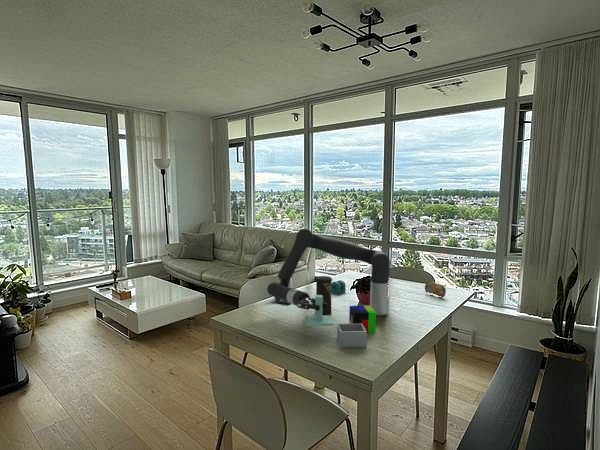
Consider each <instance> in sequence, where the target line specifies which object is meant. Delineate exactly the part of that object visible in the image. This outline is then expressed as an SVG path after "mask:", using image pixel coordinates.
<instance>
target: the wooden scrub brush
mask: <svg viewBox="0 0 600 450" xmlns="http://www.w3.org/2000/svg"><path fill="white" fill-rule="evenodd" d="M424 291H425V293H426V292H429V293H433V294H436V295H438V296H441V297H442V298H444V297H446V293H447V290H446V287H445V286H444V285H443V284H440V283H437V282H434V281H427V282H426V283H425V285H424Z"/></svg>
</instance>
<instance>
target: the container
mask: <svg viewBox="0 0 600 450" xmlns="http://www.w3.org/2000/svg"><path fill="white" fill-rule="evenodd" d="M314 281H316V283H315V284H316V289H315V291H316V292H315V295H322V296H323V300H324V302H325V303H327V304H328V305H327V308H324V307H323V311H322V315H330V316H331V314H332V293H331V283H332V282H333V278H332V277H331V276H327V275H320V276H319V275H318V276H317V277H315V279H314Z"/></svg>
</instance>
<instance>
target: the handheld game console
mask: <svg viewBox="0 0 600 450" xmlns="http://www.w3.org/2000/svg"><path fill="white" fill-rule="evenodd" d="M278 284H280V282H278ZM273 298H274V299H275V303H276V304H281V305H286V306H290V305H292V304H291V303H289V302H286V301H284V300H282V299H278V298H276V297H274V296H273Z"/></svg>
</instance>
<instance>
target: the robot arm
mask: <svg viewBox="0 0 600 450" xmlns="http://www.w3.org/2000/svg"><path fill="white" fill-rule="evenodd" d="M292 245H293V246H292V248H291V250H290V252H289V254H288V256H287V257H286V259H285V261H284V262H283V264H282V266H281V268H280V270H279V272H278V274H277V278H278V279H279V280H280V282H274V281H273V282H271V283H268V286H267V288H266V291H267V293H268V295H270V296H271V297H273V298H274V297H276V298H278V299H282V300H284V301H286V302H289V303H291V304H290V305H293V306H296V307H297V308H299V309H303V310H314V311H315V310H317V311H319V310H320V306H319V305H316V304H315V297H313V296H310V295H309V294H308V292H305V291H302V290H299V289H295V288H293V287H292V288H291V287H290V281H291V279H292V277H293V275H294V273H295V271H296V269H297V267H298V264H299V262H300V260H301V258H302V257H303V254H304V253H305V251H306V250H307V248H311V249H315V250H320V251H322V252H324V253H326V254H329V255H331V256H335V257H337V258H341V259H345V260H351V261H352V260H353V261H360V262H363V263H367V264H369V265H371V275H370V292H369V294H370V295H369V305H370V306H371V307H372V309H373V310H374V311H375V312H376V316H385V315H389V313H390V312H389V309H390V307H389V305H390V296H388V295H389V279H390V271H391V270H390V268H391V259H390V256H388V255H387V254H386V253H385V252H384V251H381V250H375V249H370V248H365V247H363V246H360V245H358V244H355V243H353V242H349V241H346V240H342V239H339V238H332V237H326V236H321V235H319V234H315V233H313V232H312V231H311V230H310V229H308V228H301V229H300V230H298V231H297V233H296V234H295V240H294V243H293V244H292ZM279 283H280V284H279ZM327 305H328V304H327V303H325V302H324V300H323V307H324V308H327Z"/></svg>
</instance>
